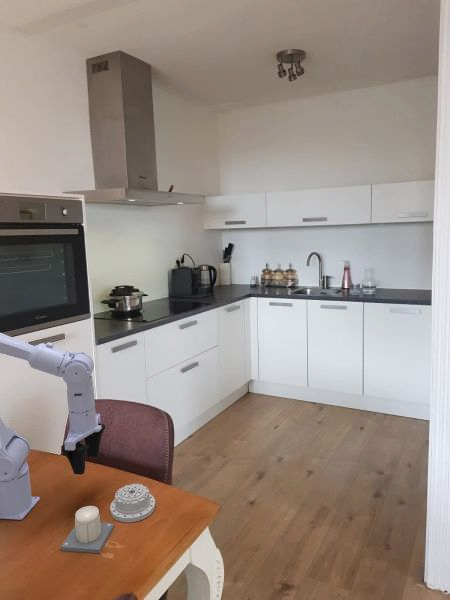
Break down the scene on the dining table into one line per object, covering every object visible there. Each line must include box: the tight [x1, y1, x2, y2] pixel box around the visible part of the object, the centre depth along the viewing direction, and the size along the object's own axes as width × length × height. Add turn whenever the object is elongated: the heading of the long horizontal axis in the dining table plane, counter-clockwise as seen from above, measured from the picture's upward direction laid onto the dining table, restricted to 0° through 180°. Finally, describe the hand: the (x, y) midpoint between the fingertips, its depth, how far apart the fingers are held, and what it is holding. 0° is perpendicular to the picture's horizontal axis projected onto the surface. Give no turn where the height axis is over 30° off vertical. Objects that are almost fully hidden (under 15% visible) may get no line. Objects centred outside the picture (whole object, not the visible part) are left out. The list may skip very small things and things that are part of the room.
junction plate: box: [60, 522, 115, 554], centre depth 95 cm, size 8×8×4 cm
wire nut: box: [74, 505, 101, 543], centre depth 94 cm, size 5×5×5 cm
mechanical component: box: [109, 483, 156, 523], centre depth 104 cm, size 10×4×10 cm
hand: (86, 464), depth 106 cm, fingers open, 7 cm apart
